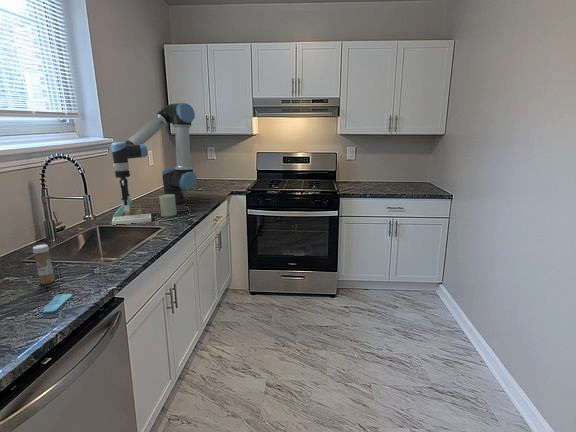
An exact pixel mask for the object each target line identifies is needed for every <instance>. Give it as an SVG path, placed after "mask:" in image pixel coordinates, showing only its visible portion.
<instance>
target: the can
mask: <svg viewBox="0 0 576 432" xmlns="http://www.w3.org/2000/svg"><path fill="white" fill-rule="evenodd" d="M158 199H159V206H160V216H161V217H174V216H176V215H177V214H178V212H177V204H176V202H175V195H174V194H165V195H164V194H161V195H159V196H158Z"/></svg>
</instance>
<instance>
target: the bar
mask: <svg viewBox="0 0 576 432" xmlns="http://www.w3.org/2000/svg"><path fill="white" fill-rule="evenodd" d="M128 202H129V206H130V207H131V204H133V199H131V198H130V197H129V198H128ZM123 214H125V211H124V205H123V203H122V204H121V205H120V207H118V209H117V210H116V212H115V213H114V214H113V216H112V218H113V217H120V216H122V215H123Z"/></svg>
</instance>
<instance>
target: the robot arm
mask: <svg viewBox="0 0 576 432" xmlns="http://www.w3.org/2000/svg"><path fill="white" fill-rule="evenodd" d="M195 114H196V113H195V109H194V108H193V107H192V106H191V104H189V103H187V102H186V103H184V102H180V103H170V104H167V105H165V106H164V107H163V108H162V109H160V110H159V111H158V112H157V113H156V114H155V115H154V117H153V119H151V120H149V122H148V123H146V124H145V125H144V126H143V127H142V128H140V129H139V130H138V131H136V132H135V133H134V134H133V135H132V136H131V137H129V138H128V139H127V140H125V141H118V142H112V143H111V145H110V146H111V154H112V161H113V165H112V167H114V170H115V171H114V175H115V178H117V179H118V178H119V179H120V180H119V184H120V186H119V187H120V189H121V197H122V198H121V201H122V202H123V203H122V204H123V205H124V211H130V209H131V205H130V206H129V202H128V198H129V199H130V196H131V194H130V193H129V184H128V182H129V181H128V179H127V178H128V177H130V176H131V173H130V170H129V169H130V164H129V159H137V158H138V159H139V158H141V159H142V158H146V157H147V156H148V153H149V152H148V151H149V150H148V147H147V145H145V143H146V142H147V141H148V140H150V139H151V138H152V137H153V136H154V135H155V134H157V133H158V132H159V131H161V130H162V129H163V128H164V127H165V128H167V127H168V126H169V125H172V126H173V127H174V131H175V137H174V138H175V153H176V154H175V155H176V157H175V158H176V159H175V161H176V166H175V167H174V168H168V169H163V170H162V172H161V173H162V174H161V176H162V182H163V184H162V185H163V191H164V192H163V195H165V194H174V195H175V202H176V205H179V204H184V203H186V201H187V199H186V196H185V194H184V192H183V191H184V190H185V191H186V190H192V189H194V188H195V186H196V184H197V181H198V178H197V175H196V174H195V173H194V168H193V167H192V166H191V147H190V146H191V145H190V144H191V142H190V128H191V127H192V122H193V121H194V119H195Z"/></svg>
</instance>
